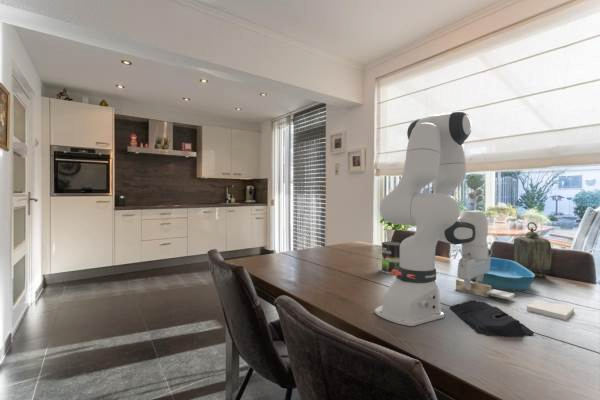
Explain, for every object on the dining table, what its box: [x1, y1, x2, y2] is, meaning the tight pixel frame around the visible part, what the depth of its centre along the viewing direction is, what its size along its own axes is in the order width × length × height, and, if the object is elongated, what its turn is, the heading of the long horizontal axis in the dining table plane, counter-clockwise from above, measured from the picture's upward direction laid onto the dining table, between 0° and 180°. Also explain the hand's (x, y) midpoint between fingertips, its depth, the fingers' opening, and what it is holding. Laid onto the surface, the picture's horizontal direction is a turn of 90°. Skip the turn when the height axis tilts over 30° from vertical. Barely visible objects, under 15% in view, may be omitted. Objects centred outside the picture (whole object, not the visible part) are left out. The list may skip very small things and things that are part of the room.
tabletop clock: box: [512, 221, 552, 279], centre depth 145 cm, size 14×9×25 cm, turn 171°
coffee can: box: [381, 241, 401, 275], centre depth 152 cm, size 10×10×14 cm
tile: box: [526, 299, 575, 321], centre depth 101 cm, size 2×10×10 cm
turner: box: [455, 278, 516, 300], centre depth 118 cm, size 19×6×4 cm, turn 37°
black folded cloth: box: [449, 299, 535, 338], centre depth 94 cm, size 15×22×5 cm
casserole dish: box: [473, 256, 536, 291], centre depth 137 cm, size 37×22×7 cm, turn 161°
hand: (473, 287), depth 120 cm, fingers open, 7 cm apart
